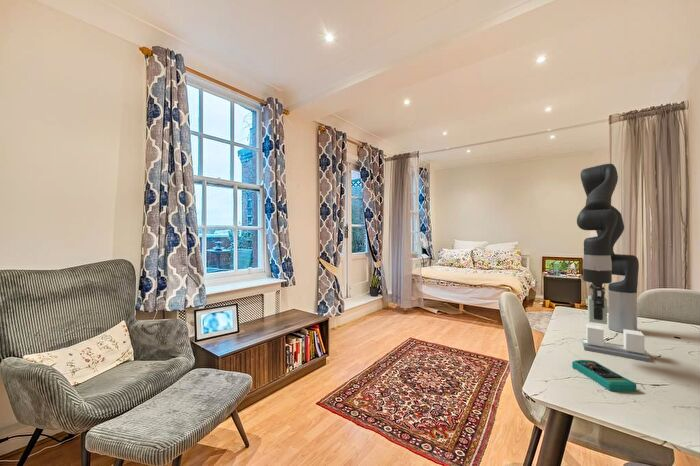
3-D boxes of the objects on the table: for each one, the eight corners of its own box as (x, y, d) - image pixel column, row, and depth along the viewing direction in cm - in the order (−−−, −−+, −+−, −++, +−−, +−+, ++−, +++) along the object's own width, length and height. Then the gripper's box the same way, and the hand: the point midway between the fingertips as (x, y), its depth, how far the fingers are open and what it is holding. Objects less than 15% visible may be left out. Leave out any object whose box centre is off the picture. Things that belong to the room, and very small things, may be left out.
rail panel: (582, 341, 114) (582, 321, 114) (643, 352, 104) (643, 330, 104) (584, 349, 106) (584, 328, 106) (650, 362, 96) (650, 338, 96)
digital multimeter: (593, 367, 93) (593, 358, 93) (638, 393, 78) (638, 382, 78) (570, 367, 93) (570, 358, 93) (610, 393, 78) (610, 382, 78)
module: (588, 317, 103) (587, 294, 103) (604, 320, 100) (604, 296, 100) (589, 321, 98) (589, 297, 98) (607, 324, 96) (606, 299, 96)
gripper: (581, 265, 107) (581, 310, 107) (584, 269, 95) (584, 320, 96) (608, 266, 103) (608, 314, 103) (615, 271, 91) (615, 324, 91)
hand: (597, 317), depth 99 cm, fingers closed on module, 5 cm apart
